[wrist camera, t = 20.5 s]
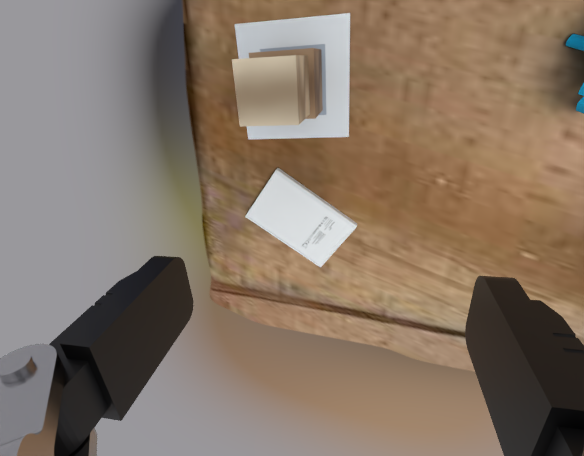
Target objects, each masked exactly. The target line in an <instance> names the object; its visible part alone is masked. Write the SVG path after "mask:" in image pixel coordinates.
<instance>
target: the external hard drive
mask: <svg viewBox="0 0 584 456" xmlns="http://www.w3.org/2000/svg"><path fill="white" fill-rule="evenodd" d="M245 217H246V218H248V219H249V220H251V221H252V222H254V223H255V224H257V225H258V226H260V227H261V228H263V229H264V230H266V231H267V232H269V233H270V234H272V235H273V236H274V237H276V238H277V239H279V240H280V241H282V242H283V243H285V244H286V245H288V246H289V247H291V248H292V249H294V250H295V251H297V252H298V253H300V254H301V255H303V256H304V257H306V258H307V259H309V260H310V261H312V262H313V263H314V264H316V265H317V266H319V267H321V266H322V265H323V264H324V263H325V262H326V261H327V260H328V259H329V257H330V256H331V255H332V254H333V253H334V252H335V251H336V250H337V248H338V247H339V246H340V245H341V244H342V243H343V242H344V241H345V240H346V238H347V237H348V236H349V235H350V234H351V233H352V232H353V231H354V229H355V228H356V227H357V223H356V222H354V221H353V220H352V219H350V218H349V217H348V216H346V215H345V214H343V213H342V212H340V211H339V210H338V209H336V208H335V207H333V206H332V205H331V204H329V203H328V202H326V201H325V200H323V199H322V198H321V197H319V196H318V195H316V194H315V193H314V192H312V191H311V190H309V189H308V188H306V187H305V186H304V185H302V184H301V183H299V182H298V181H296V180H295V179H294V178H292V177H291V176H289V175H288V174H287V173H285V172H284V171H282V170H281V169H279V168H277V169H276V170H275V172H274V173H273V175H272V176H271V178H270V179H269V181H268V183H267V184H266V186H265V187H264V189H263V190H262V192H261V193H260V195H259V196H258V198H257V199H256V201H255V202H254V204H253V205H252V207H251V208H250V210H249V211H248V213H247V214H246V216H245Z"/></svg>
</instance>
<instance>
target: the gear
mask: <svg viewBox="0 0 584 456" xmlns="http://www.w3.org/2000/svg"><path fill="white" fill-rule="evenodd" d="M566 46H568V47H571V48H575V49H578V50H582V51H584V36H581V35H577V34H572V35H571V36H570V37H569V39H568V40H567V42H566ZM578 94H580V95H583V96H584V83H583V85H582V87H581V88H580V90H579V92H578ZM576 111H579V112H581V113H584V97H583V98H582V99H581V100H580V101H579V102H578V104H577V106H576Z"/></svg>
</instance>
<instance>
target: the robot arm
mask: <svg viewBox="0 0 584 456" xmlns="http://www.w3.org/2000/svg"><path fill="white" fill-rule="evenodd" d="M192 311H193V298H192V294H191V289H190V285H189V280H188V276H187V272H186V267H185V264H184V261H183V260H182V259H181V258H179V257H166V256H154V257H152V258H151V259H150V260H149V261H148V262H147V263H145V265H143V266H142V267H141V268H140V269H139V270H138V271H137V272H134V273H133V274H131V275H129V276H127V277H125V278H124V279H122V280H120V281H119V282H118V283H116V284H115V285H114V286H113V287H112V288H111V289H110V290H109V291H108V292H106V295H105V296H104V295H103V296H102V297H101V298H100V299H99V300H98V301H96V302H95V305H94V306H91V307H90V308H89V309H88V310H87V311H85V312H84V313H83V314H82V315H81V316H80V317H79V318H78V319H77V320H76V321H74V322H73V323H72V324H71V325H70V326H69V327H68V328H67V329H66V330H65V331H63V332H62V333H61V334H60V335H59V336H58V337H57V338H56V339H54V340H53V341H52V342H51V343H50V344H49V345H47V344H35V345H30V346H26V347H23V348H20V349H17V350H15V351H13V352H10V353H9V354H7V355H5V356H3V357H2V358H0V456H97V433H96V430H95V428H94V427H95V426H96V424H97V423H98V422H99V420H100V419H101V418H108V419H114V420H120V421H121V420H122V419H123V417H124V416H125V414H126V413H127V411H128V410H129V409H130V407H131V405H132V404H133V403H134V401H135V400H136V398H137V397H138V395H139V394H140V392H141V391H142V389H143V388H144V386H145V385H146V383H147V382H148V380H149V379H150V377H151V376H152V374H153V373H154V372H155V370H156V369H157V367H158V366H159V364H160V363H161V361H162V360H163V358H164V357H165V355H166V354H167V352H168V351H169V349H170V348H171V346H172V345H173V343H174V342H175V340H176V339H177V337H178V336H179V335H180V333H181V332H182V330H183V329H184V327H185V326H186V324H187V323H188V321H189V320H190V317H191V315H192ZM466 344H467V348H468V352H469V355H470V357H471V360H472V363H473V366H474V369H475V372H476V375H477V378H478V381H479V384H480V387H481V390H482V392H483V395H484V398H485V401H486V404H487V407H488V410H489V413H490V416H491V419H492V422H493V425H494V427H495V430H496V433H497V436H498V439H499V442H500V445H501V448H502V451H503V453H504V456H584V345H583V344H582V343H581V341H580V340H579V339H578V338H576V337H575V333H574V332H573V331H572V329H571V328H570V327H569V325H568V324H567V323H566V321H565V320H564V319H563V317H562V316H561V315H559V314H558V313H557V312H555V311H554V310H552V309H551V308H550V307H548V306H547V305H546V304H544V303H543V302H542V301H539V300H530V299H529V297H528V296H527V294H526V293H525V291H524V290H523V288H522V287H521V285H520V284H519V282H518V281H517V280H516V279H515V278H508V277H491V276H479V277H478V278H477V280H476V282H475V286H474V291H473V295H472V300H471V304H470V309H469V313H468V318H467V322H466Z"/></svg>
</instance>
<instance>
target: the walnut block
mask: <svg viewBox="0 0 584 456" xmlns="http://www.w3.org/2000/svg"><path fill="white" fill-rule="evenodd" d="M291 55H303V56H308V66H309V100H310V115H309V116H308V117H307V118H306V119H316V117H317V116H318V115H319V114H320V113H321V111H322V110H323V104H322V53H321V49H316V48H307V49H293V50H280V51H267V52H254V53H249V58H260V57H276V56H291Z"/></svg>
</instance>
